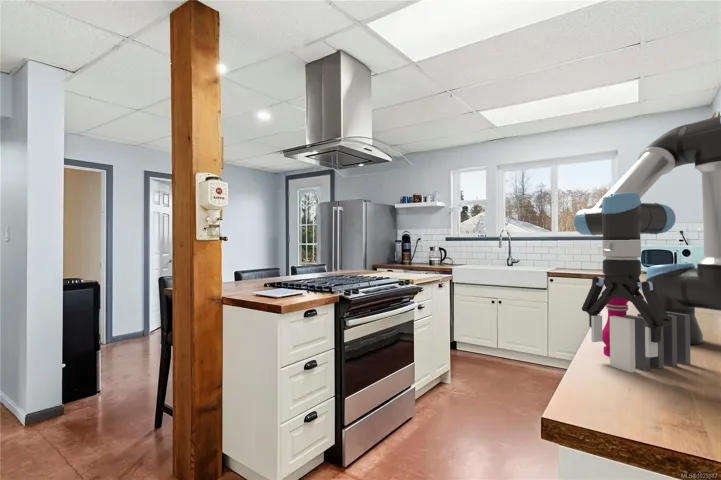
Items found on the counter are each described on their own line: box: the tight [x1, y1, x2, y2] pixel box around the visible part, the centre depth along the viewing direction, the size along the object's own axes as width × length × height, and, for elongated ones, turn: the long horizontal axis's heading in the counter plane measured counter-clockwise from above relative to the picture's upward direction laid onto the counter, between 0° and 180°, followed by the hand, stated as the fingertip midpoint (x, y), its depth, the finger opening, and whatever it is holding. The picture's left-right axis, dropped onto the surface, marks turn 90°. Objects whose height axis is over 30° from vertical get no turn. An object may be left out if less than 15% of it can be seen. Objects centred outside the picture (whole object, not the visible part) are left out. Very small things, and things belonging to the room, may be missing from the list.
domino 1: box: [624, 314, 651, 371], centre depth 92 cm, size 2×5×12 cm, turn 17°
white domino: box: [609, 316, 636, 373], centre depth 91 cm, size 2×5×12 cm, turn 17°
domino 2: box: [636, 313, 665, 369], centre depth 93 cm, size 2×5×12 cm, turn 17°
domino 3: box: [663, 315, 678, 367], centre depth 95 cm, size 2×5×12 cm, turn 17°
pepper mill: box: [601, 297, 630, 357], centre depth 101 cm, size 7×7×20 cm
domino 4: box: [666, 312, 691, 366], centre depth 96 cm, size 2×5×12 cm, turn 17°
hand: (622, 348), depth 91 cm, fingers open, 13 cm apart
